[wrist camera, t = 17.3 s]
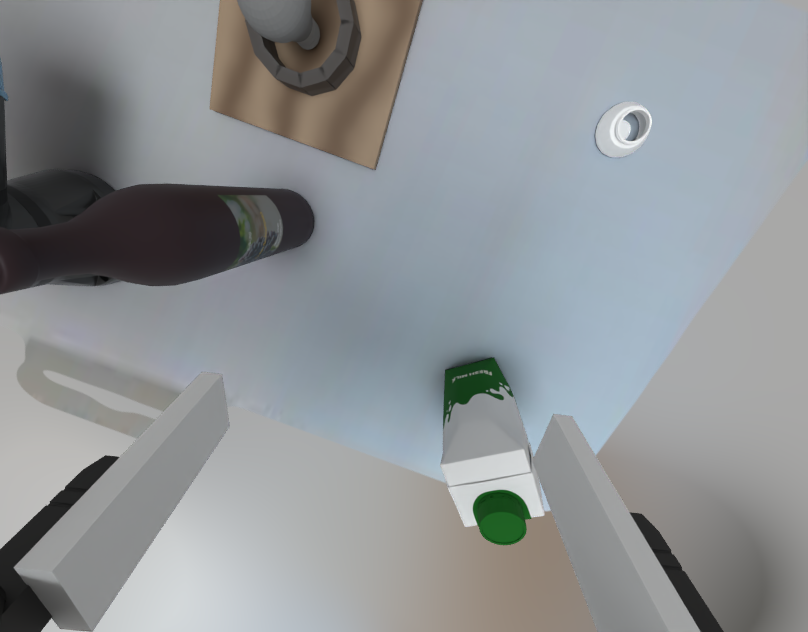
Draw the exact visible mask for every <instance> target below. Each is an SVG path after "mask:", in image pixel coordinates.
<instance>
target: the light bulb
mask: <svg viewBox="0 0 808 632" xmlns="http://www.w3.org/2000/svg"><path fill="white" fill-rule="evenodd" d="M237 2H238V5H239V7H240V9H241V12H242V14H243V16H244V17H245V19H246V20H247V22H248V23H249V25H250V26H251V27H252V28H253V29H254V30H255V31H256V32H257V33H259V34H260V35H261V36H263V37H264V38H266V39H268V40H271V41H273V42H278V43H288V42H291V41H293V42H297V43H298V44H299V45H300V46H301V47H302V48H303V49H306V50H311V49H313V48H314V47H315V46H316V45H317V44H318V42H319V39H320V30H319V27H318V25H317V23H316V22H315V21H314V19H313V18H312V15H311V0H237Z"/></svg>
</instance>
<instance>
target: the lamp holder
mask: <svg viewBox="0 0 808 632" xmlns="http://www.w3.org/2000/svg"><path fill="white" fill-rule="evenodd" d="M422 2H423V0H311V15H312V18H313V19H314V21H315V22H316V23H317V25H318V27H319V30H320V39H319V42H318V44H317V45H316V46H315V47H314V48H313V49H311V50H306V49H303V48H302V47H301V46H300V45H299V44H298V43H297V42H293V41H291V42H288V43H278V42H273V41H271V40H268V39H266V38H264V37H263V36H261V35H260V34H259V33H257V32H256V31H255V30H254V29H253V28H252V27H251V26H250V25H249V23H248V22H247V20H246V19H245V17H244V16H243V14H242V12H241V9H240V7H239V5H238V2H237V0H220V6H219V16H218V27H217V37H216V47H215V58H214V68H213V78H212V89H211V99H210V109H211V110H214V111H216V112H219V113H222V114H225V115H227V116H230V117H233V118H235V119H238V120H241V121H244V122H246V123H249V124H252V125H254V126H257V127H260V128H263V129H265V130H268V131H271V132H274V133H276V134H279V135H282V136H284V137H287V138H290V139H293V140H295V141H298V142H301V143H304V144H306V145H309V146H312V147H314V148H317V149H320V150H323V151H325V152H328V153H331V154H333V155H336V156H339V157H342V158H344V159H347V160H350V161H353V162H355V163H358V164H361V165H363V166H366V167H369V168H372V169H374V170H376V166H377V163H378V159H379V156H380V152H381V148H382V145H383V141H384V138H385V134H386V131H387V127H388V123H389V120H390V116H391V113H392V109H393V106H394V102H395V98H396V95H397V91H398V88H399V84H400V81H401V77H402V73H403V70H404V66H405V63H406V59H407V55H408V52H409V48H410V45H411V41H412V38H413V34H414V30H415V27H416V23H417V20H418V16H419V13H420V9H421V5H422Z"/></svg>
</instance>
